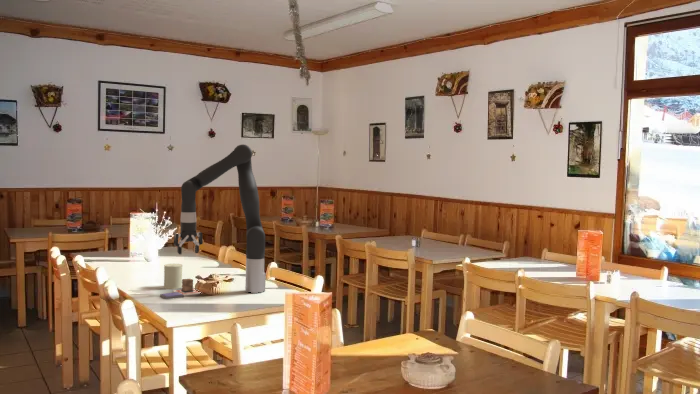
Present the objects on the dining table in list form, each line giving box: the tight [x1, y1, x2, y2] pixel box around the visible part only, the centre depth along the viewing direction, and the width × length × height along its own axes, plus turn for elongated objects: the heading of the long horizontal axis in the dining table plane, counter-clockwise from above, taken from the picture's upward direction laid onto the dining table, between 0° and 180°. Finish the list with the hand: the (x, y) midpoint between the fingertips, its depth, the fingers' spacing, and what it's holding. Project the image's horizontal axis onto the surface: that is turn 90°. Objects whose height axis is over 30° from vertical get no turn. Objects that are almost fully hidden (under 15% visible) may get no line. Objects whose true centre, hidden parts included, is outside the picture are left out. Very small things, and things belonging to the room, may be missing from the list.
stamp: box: [180, 278, 194, 293], centre depth 305 cm, size 4×4×6 cm
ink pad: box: [159, 292, 185, 300], centre depth 295 cm, size 9×7×1 cm
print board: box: [172, 288, 202, 296], centre depth 306 cm, size 11×10×1 cm
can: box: [163, 263, 183, 290], centre depth 317 cm, size 9×9×12 cm
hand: (188, 253), depth 304 cm, fingers open, 8 cm apart
